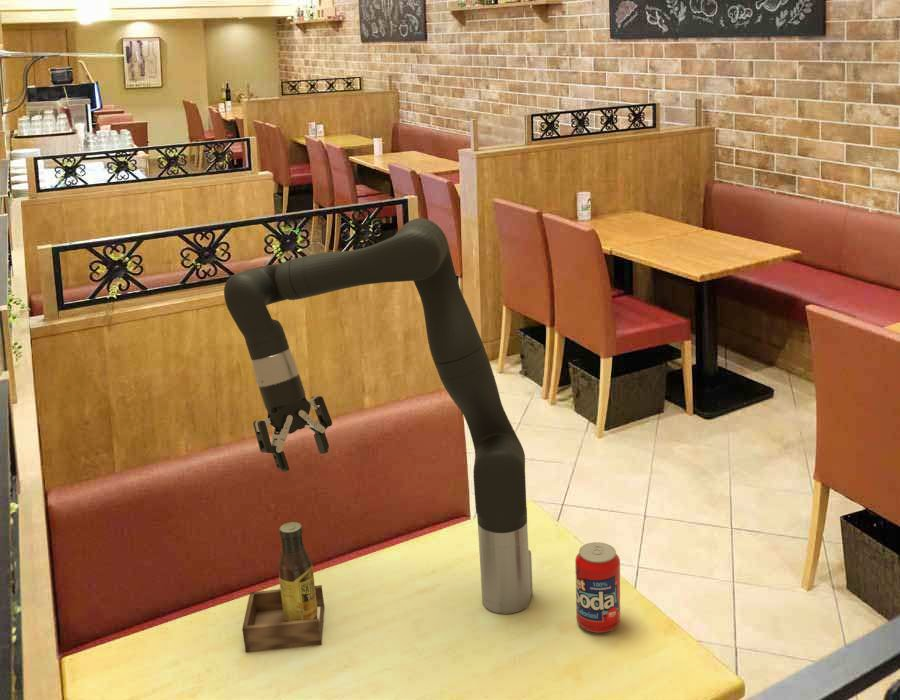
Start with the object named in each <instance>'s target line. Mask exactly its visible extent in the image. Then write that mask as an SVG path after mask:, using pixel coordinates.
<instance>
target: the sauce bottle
mask: <svg viewBox="0 0 900 700" xmlns="http://www.w3.org/2000/svg"><path fill="white" fill-rule="evenodd" d="M278 529H279V536H280V537H281V545H282V546H281V548H282V549H281V550H282V552H281V553H280V555H279V556H278V557H279V558H278V561H277V564H278V581H279V586H280V588H279V589H281V597H282V606H283V613H284V618H285V622H290V621H300V620H310V619H317V613H318V611H317V602H316V593H315V586H316V585H315V577H314V568H313V567H314V566H313V562H312V560H311V558H310V556H309V554H308V553H307V550H306V549H305V547H304V543H303V535H302V534H303V527H302V524H301V523H300V522H296V521H290V522H286V523H283V524H282V525H280V527H279V528H278Z"/></svg>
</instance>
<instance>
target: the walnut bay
mask: <svg viewBox="0 0 900 700" xmlns="http://www.w3.org/2000/svg"><path fill="white" fill-rule="evenodd" d="M315 593H316V602H317V611H318V613H317V619H310V620H300V621H290V622H285V618H284V613H283V606H282V597H281V589H280V588H279V589H269V590H259V591H250V592H249V597H248V599H247V605H246V609H245V615H244V617H243V619H244V620H243V623H242V627H241V628H242V629H241V632H242V637H243V641H244V642H243V644H244V650H245V653H254V652H261V651H262V652H264V651H272V650H282V649H283V650H284V649H291V648H302V647H311V646H313V647H314V646H321V645H322V643H323V642H322V640H323V629H324V620H325V619H324V616H325V601H324V594H323V593H324V591H323V585H322V584H319V585H315Z"/></svg>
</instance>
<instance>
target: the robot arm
mask: <svg viewBox="0 0 900 700" xmlns="http://www.w3.org/2000/svg"><path fill="white" fill-rule="evenodd" d="M450 250H451V249H450V245H449V242H448V240H447V237H446V233H444V231H443V229H442V228H441V227H440V226H439V225H438V224H436V223H435V222H434V221H432V220H431V219H427V218H422V217H421V218H420V217H419V218H418V217H417V218H413V219H411V220H409V221H407V222H406V223H404V224H403V225H402V226H401V227H400V228H399V229H398V231H396V233H395V234H394V235H393V236H391V237H389V238H387V239H384V240H382V241H380V242H378V243H374V244H372V245H369V246H365V247H363V248H358V249H352V250H346V251H345V250H343V251H326V252H318V253H314V254H309V255H305V256H301V257H296V258H293V259H290V260H286V261H284V262H282V263H281V262H280V263H275V264H270V265H264V266H263V265H262V266H258V267H254V268H253V267H252V268H249V269H246V270H244V271H243V270H242V271H241V272H237V273H235V274H233V275H231V276H230V277H228V279H227V280H226V282H225V285H224V288H223V295H224V303H225V304H226V307H227V310H228V312H229V314H230V316H231V317H232V319H233V321H234V323H235V325H236V326H237V328H238V329H239V331H240V332H241V334H242V336H243V337H244V341H245V344H246V347H247V351H248V353H249V357H250V360H251V363H252V369H253V374H254V377H255V380H256V381H255V382H256V384H257V386H258V389H259V391H260V395H261V398H262V401H263V404H264V407H265V410H266V411H267V418H264V419H263V418H262V419H260V420H254V421H253V422H252V426H253V428H254V432H255V436H256V439H257V443H258V447H259V451H260V453H264V454H271V455H272V457H273V459H274V463H275V466H276V467H275V468H276V469H278V470H279V471H281V472H284V473H287V472H288V471H290V466H289V463H288V460H287V457H286V453H285V452H284V450H283V447H284V444H285V441H286V440H287V438H288V435H291V434H293V433H295V432H296V431H298V430H303V429H305V428H308V429H309V431H310V430H311V431H312V432H313V433H314V434H313V437H314V441H315V443H316V446H317V450H318V453H319V454H320V455H321V454H322V455H323V454H324V455H325V454H328V453H329V448H330V445H329V442H328V439H327V436H326V430H327V429H328V428H329V427H331V426H332V425H333V421H332V418H331V416H330V412H329V409H328V408H327V405H326V401H325V399H324V397H323V396H320V395H316V396H315V395H313V396H312V397H311V398H310V399H309V400H308V399H307V398H306V391H305V387H304V386H303V382H302V379H301V376H300V373H299V369H298V366H297V363H296V360H295V358H294V356H293V353H292V352H291V349H290V346H289V343H288V340H287V336H286V333H285V330H284V327H283V325H282V324H281V322H280V321H279V320H277V319H274V318H272V316H271V313H270V312H269V310H268V308H267V306H269V305H272V304H275V303H278V302H283V301H286V300H288V301H296V300H302V299H305V298H306V299H307V298H311V297H315V296H318V295H319V296H320V295H323V294H327V293H331V292H332V293H333V292H335V291H340V290H345V289H349V288H354V287H359V286H366V285H373V284H383V283H398V282H399V283H400V282H413V283H414V285H415V287H416V291H417V292H418V294H419V297H420V301H421V305H422V310H423V316H424V322H425V329H426V335H427V341H428V347H429V351H430V355H431V357H432V361H433V363H434V366H435V369H436V371H437V374H438V375H439V379H440V381H441V383H442V386H443V387H444V389H445V390H446V392H447V393H448V395H449V397H450V398H451V400H452V401H453V402H454V404H455V405H456V406H457V407H458V409H459V411H460V412H461V414H462V416H463V417H464V419H465V421H466V424H467V428H468V429H469V433H470V436H471V439H472V444H473V449H474V465H473V487H474V488H473V490H474V503H475V513H476V519H477V532H478V533H477V534H478V535H477V537H478V548H479V549H478V550H479V566H480V567H479V569H480V570H479V571H480V582H481V583H480V584H481V586H480V587H481V601H482V605H483V606H484V607H485V608H486V609H487V610H489V611H490V612H493V613H496V614H501V615H503V614H505V615H506V614H508V615H509V614H513V613H514V614H515V613H518V612H521V611H523V610H525V609H526V608H527V607H528V606H529V605H530V602H531V596H532V595H533V594H534V589H533V566H532V564H533V563H532V551H531V550H530V549H529V534H528V531H529V530H528V509H527V508H528V507H527V487H526V454H525V450H524V448H523V445H522V443H521V441H520V440H519V436H517V434H516V431H515V429H514V428H513V425H512V423H511V421H510V420H509V417H508V415H507V414H506V411H505V408H504V407H503V404H502V401H501V396H500V394H499V388H498V384H497V381H496V378H495V375H494V372H493V368H492V365H491V363H490V359H489V356H488V353H487V351H486V348H485V345H484V343H483V340H482V338H481V336H480V333H479V331H478V327H477V326H476V323H475V321H474V318H473V315H472V313H471V311H470V309H469V306H468V304H467V301H466V299H465V297H464V295H463V292H462V290H461V288H460V285H459V280H458V277H457V274H456V270H455V266H454V262H453V259H452V255H451V251H450ZM311 409H312V410H314V411H315V414H316V417H317V420H318V421H317V420H316V419H315V418H313V417H312V416H311V415H310V411H311ZM270 425H271V427H273V430H272V434H271V439H270V435H269V429H270Z"/></svg>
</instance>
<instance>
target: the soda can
mask: <svg viewBox="0 0 900 700" xmlns="http://www.w3.org/2000/svg"><path fill="white" fill-rule="evenodd" d="M574 562H575V566H574V567H575V606H576V614H575V615H576V621H577V623H578V625H579V626H580V627H581V628H583V629H584V630H586V631H588V632H592V633H608V632H610V631H613V630H614V629H616V628H617V627H618V626H619V625H620V621H621V559H620V556H619V555H618V554H617V550H616V548H615V547H613V546H612V545H611V544H609V543H605V542H598V541H597V542H588V543H585V544H583V545H581V547H580V548H579V550H578V553H577V554H576V556H575V561H574Z"/></svg>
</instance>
